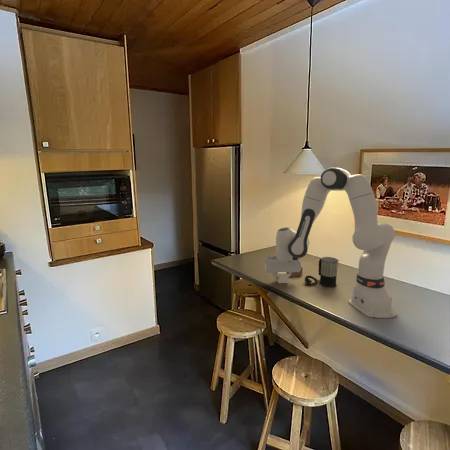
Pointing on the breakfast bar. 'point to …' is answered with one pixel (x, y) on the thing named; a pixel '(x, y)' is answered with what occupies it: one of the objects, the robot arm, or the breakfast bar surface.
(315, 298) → the breakfast bar surface
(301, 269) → the walnut base
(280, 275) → the cube
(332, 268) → the milk frother
